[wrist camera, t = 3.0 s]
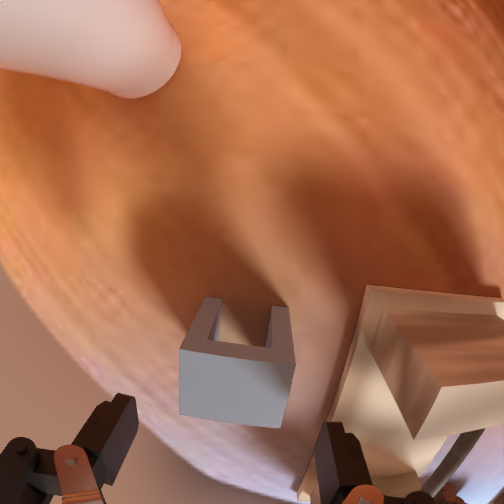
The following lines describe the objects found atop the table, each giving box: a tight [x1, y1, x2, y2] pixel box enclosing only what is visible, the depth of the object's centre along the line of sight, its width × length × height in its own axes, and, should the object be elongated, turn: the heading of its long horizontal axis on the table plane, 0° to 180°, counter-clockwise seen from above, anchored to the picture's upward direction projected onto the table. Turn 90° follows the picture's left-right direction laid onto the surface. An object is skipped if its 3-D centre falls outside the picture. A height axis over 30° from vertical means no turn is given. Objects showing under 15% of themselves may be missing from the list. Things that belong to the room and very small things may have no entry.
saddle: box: [179, 297, 296, 428], centre depth 16 cm, size 4×5×6 cm
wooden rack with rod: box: [297, 285, 504, 504], centre depth 16 cm, size 22×12×9 cm, turn 173°
